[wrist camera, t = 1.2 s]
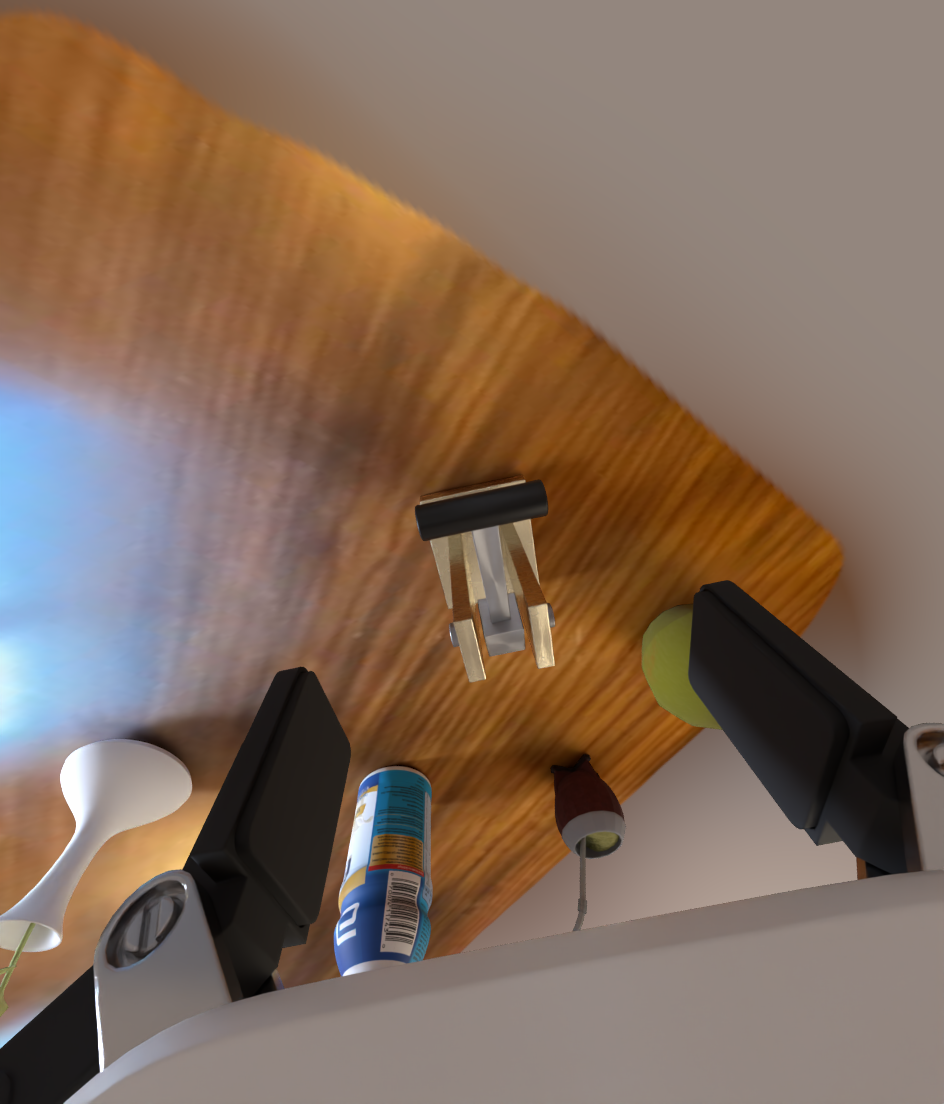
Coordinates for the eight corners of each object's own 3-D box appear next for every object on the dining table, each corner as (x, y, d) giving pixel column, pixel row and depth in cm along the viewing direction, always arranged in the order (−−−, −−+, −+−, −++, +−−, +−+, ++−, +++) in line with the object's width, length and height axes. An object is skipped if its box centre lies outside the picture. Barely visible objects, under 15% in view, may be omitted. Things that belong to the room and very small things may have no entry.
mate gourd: (614, 757, 48) (682, 917, 35) (582, 798, 51) (634, 958, 38) (558, 746, 46) (607, 909, 33) (528, 788, 50) (563, 953, 36)
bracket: (419, 496, 32) (411, 584, 20) (522, 474, 32) (571, 551, 20) (448, 601, 36) (453, 721, 25) (537, 583, 36) (584, 695, 25)
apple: (620, 672, 42) (676, 773, 32) (627, 592, 37) (695, 681, 28) (717, 659, 42) (801, 755, 32) (735, 578, 38) (840, 662, 28)
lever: (412, 489, 16) (416, 535, 15) (536, 463, 16) (552, 507, 15) (460, 625, 26) (466, 661, 25) (538, 610, 26) (548, 644, 25)
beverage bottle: (443, 796, 49) (448, 1056, 31) (378, 816, 50) (346, 1080, 32) (415, 753, 45) (402, 1022, 27) (344, 775, 46) (288, 1050, 28)
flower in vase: (89, 712, 39) (-369, 1207, 17) (214, 748, 42) (-28, 1198, 20) (64, 790, 43) (-321, 1260, 21) (179, 817, 47) (-50, 1245, 25)
